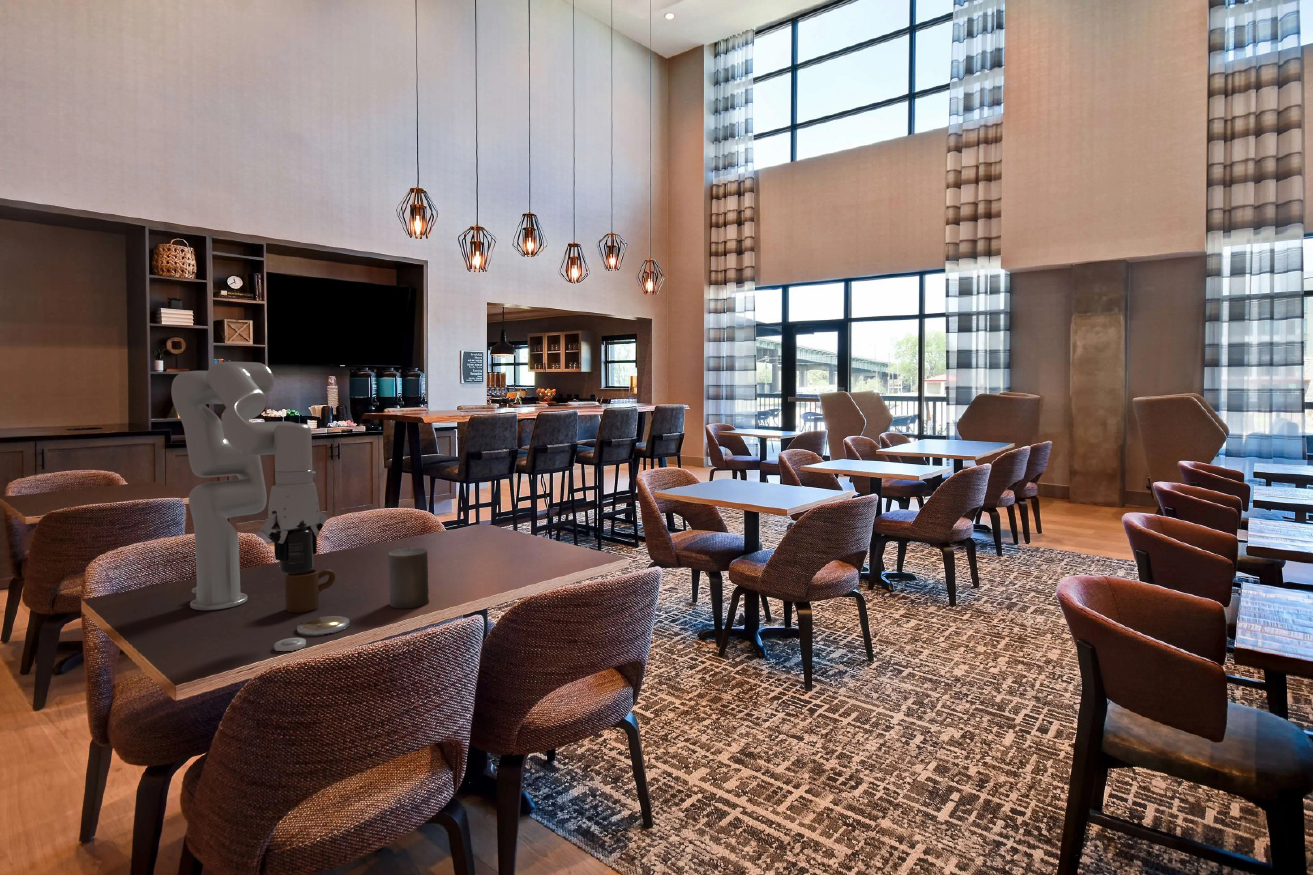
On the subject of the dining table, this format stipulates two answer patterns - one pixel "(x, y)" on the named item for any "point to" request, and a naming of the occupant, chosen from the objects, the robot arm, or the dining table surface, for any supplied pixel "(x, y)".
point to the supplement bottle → (298, 550)
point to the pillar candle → (408, 578)
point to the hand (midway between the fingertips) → (296, 556)
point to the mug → (305, 589)
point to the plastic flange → (290, 644)
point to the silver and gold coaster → (323, 625)
